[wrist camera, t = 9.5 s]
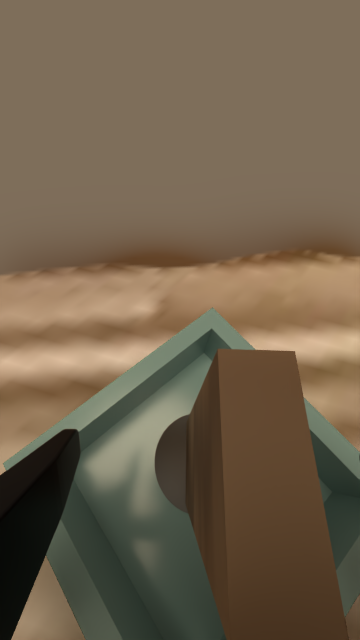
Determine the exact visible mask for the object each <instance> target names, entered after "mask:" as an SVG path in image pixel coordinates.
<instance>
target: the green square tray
mask: <svg viewBox="0 0 360 640" xmlns="http://www.w3.org/2000/svg"><path fill="white" fill-rule="evenodd" d="M217 349H242V350H255V349H254V348H253V347H252V346H251V345H250V344H249V343H248V342H247V341H246V340H245V339H244V338H243V337H242V336H241V335H240V334H239V333H238V332H237V331H236V330H235V329H234V328H233V327H232V326H231V325H230V324H229V323H228V322H227V321H226V320H225V319H224V318H223V317H222V316H221V315H220V314H219V313H218V312H217V311H216V310H215V309H214V308H211V309H210V310H208V311H207V312H206V313H204V314H203V315H202V316H200V317H199V318H198V319H196V320H195V321H194V322H192V323H191V324H190V325H188V326H187V327H186V328H184V329H183V330H182V331H180V332H179V333H178V334H176V335H175V336H174V337H172V338H171V339H170V340H168V341H167V342H165V343H164V344H163V345H161V346H160V347H159V348H157V349H156V350H155V351H153V352H152V353H151V354H149V355H148V356H147V357H145V358H144V359H143V360H141V361H140V362H139V363H137V364H136V365H135V366H133V367H132V368H131V369H129V370H128V371H127V372H125V373H124V374H123V375H121V376H120V377H118V378H117V379H116V380H114V381H113V382H112V383H110V384H109V385H108V386H106V387H105V388H104V389H102V390H101V391H100V392H98V393H97V394H96V395H94V396H93V397H92V398H90V399H89V400H88V401H86V402H85V403H84V404H82V405H81V406H80V407H78V408H77V409H75V410H74V411H73V412H71V413H70V414H69V415H67V416H66V417H65V418H63V419H62V420H61V421H59V422H58V423H57V424H55V425H54V426H53V427H51V428H50V429H49V430H47V431H46V432H45V433H43V434H42V435H41V436H39V437H38V438H37V439H35V440H34V441H33V442H31V443H30V444H28V445H27V446H26V447H24V448H23V449H22V450H20V451H19V452H18V453H16V454H15V455H14V456H12V457H11V458H10V459H8V460H7V461H6V462H4V463H3V465H4V467H5V469H6V471H7V470H8V469H9V468H11V467H12V466H14V465H15V464H16V463H18V462H19V461H20V460H22V459H23V458H25V457H26V456H27V455H29V454H30V453H31V452H33V451H34V450H36V449H37V448H38V447H40V446H41V445H42V444H44V443H45V442H47V441H48V440H49V439H51V438H52V437H53V436H55V435H56V434H58V433H59V432H60V431H62V430H63V429H77V430H78V431H79V438H80V448H81V454H80V459H79V462H78V466H77V469H76V472H75V476H74V479H73V482H72V485H71V489H70V492H69V495H68V499H67V502H66V505H65V508H64V511H63V514H62V517H61V519H60V522H59V524H58V527H57V529H56V532H55V534H54V536H53V539H52V541H51V544H50V546H49V549H48V551H47V553H46V556H47V558H48V560H49V563H50V565H51V567H52V569H53V571H54V573H55V575H56V577H57V580H58V582H59V584H60V586H61V588H62V590H63V592H64V594H65V597H66V599H67V601H68V603H69V605H70V607H71V609H72V611H73V614H74V616H75V618H76V620H77V622H78V624H79V626H80V628H81V631H82V633H83V635H84V637H85V639H86V640H227V639H226V636H225V633H224V629H223V626H222V623H221V619H220V616H219V613H218V609H217V606H216V603H215V600H214V596H213V593H212V590H211V586H210V583H209V580H208V576H207V573H206V570H205V566H204V563H203V560H202V557H201V553H200V550H199V547H198V543H197V540H196V537H195V533H194V530H193V527H192V523H191V520H190V517H189V514H188V513H186V512H183V511H181V510H180V509H178V508H176V507H175V506H174V505H173V504H172V503H171V502H170V501H169V500H168V499H167V498H166V497H165V495H164V494H163V492H162V490H161V488H160V486H159V484H158V481H157V478H156V473H155V452H156V448H157V445H158V442H159V439H160V437H161V436H162V434H163V432H164V431H165V430H166V428H167V427H168V426H169V425H170V424H171V423H172V422H174V421H175V420H177V419H178V418H180V417H182V416H185V415H188V414H190V412H191V410H192V408H193V405H194V403H195V401H196V398H197V396H198V394H199V391H200V389H201V387H202V384H203V382H204V380H205V377H206V375H207V373H208V370H209V368H210V366H211V363H212V361H213V359H214V356H215V354H216V352H217ZM303 398H304V397H303ZM304 403H305V408H306V414H307V419H308V424H309V430H310V435H311V440H312V445H313V451H314V456H315V461H316V467H317V472H318V477H319V483H320V488H321V493H322V499H323V504H324V509H325V515H326V520H327V525H328V531H329V536H330V541H331V547H332V552H333V557H334V563H335V568H336V573H337V579H338V584H339V589H340V595H341V600H342V605H343V611H344V616H345V617H346V615H347V613H348V612H349V610H350V608H351V607H352V605H353V604H354V602H355V600H356V599H357V597H358V596H359V594H360V460H359V455H360V452H359V451H358V450H357V449H356V448H355V447H354V446H353V445H352V444H351V443H350V442H349V441H348V440H347V439H346V438H345V437H344V436H343V435H342V434H340V433H339V432H338V431H337V430H336V429H335V428H334V427H333V426H332V425H331V424H330V423H329V422H328V421H327V420H326V419H325V418H324V417H323V416H322V415H321V414H320V413H319V412H318V411H317V410H316V409H315V408H314V407H313V406H312V405H311V404H310V403H309V402H308V401H307V400H306V399H305V398H304Z"/></svg>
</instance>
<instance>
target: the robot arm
mask: <svg viewBox="0 0 360 640" xmlns="http://www.w3.org/2000/svg"><path fill="white" fill-rule="evenodd" d="M80 454H81V448H80V438H79V431H78V430H77V429H63V430H62V431H60V432H59V433H58V434H56V435H55V436H53V437H52V438H51V439H49V440H48V441H47V442H45V443H44V444H42V445H41V446H40V447H38V448H37V449H36V450H34V451H33V452H31V453H30V454H29V455H27V456H26V457H25V458H23V459H22V460H20V461H19V462H18V463H16V464H15V465H14V466H12V467H11V468H9V469H8V470H7V471H5V472H4V473H3V474H1V475H0V640H11V638H12V636H13V634H14V631H15V629H16V626H17V624H18V621H19V619H20V617H21V614H22V612H23V609H24V607H25V604H26V602H27V600H28V597H29V595H30V592H31V590H32V587H33V585H34V583H35V580H36V578H37V575H38V573H39V570H40V568H41V566H42V563H43V561H44V558H45V556H46V553H47V551H48V549H49V546H50V544H51V541H52V539H53V536H54V534H55V532H56V529H57V527H58V524H59V522H60V519H61V517H62V514H63V511H64V508H65V505H66V502H67V499H68V495H69V492H70V489H71V485H72V482H73V479H74V476H75V472H76V469H77V466H78V462H79V459H80ZM359 460H360V455H359Z"/></svg>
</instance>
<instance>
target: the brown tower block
mask: <svg viewBox="0 0 360 640" xmlns="http://www.w3.org/2000/svg"><path fill="white" fill-rule="evenodd" d="M155 473H156V478H157V481H158V484H159V486H160V488H161V490H162V492H163V494H164V495H165V497H166V498H167V499H168V500H169V501H170V502H171V503H172V504H173V505H174V506H175V507H176V508H178V509H180V510H181V511H183V512H186V513H188V514H189V517H190V520H191V523H192V527H193V530H194V533H195V537H196V540H197V543H198V547H199V550H200V553H201V557H202V560H203V563H204V566H205V570H206V573H207V576H208V580H209V583H210V586H211V590H212V593H213V596H214V600H215V603H216V606H217V609H218V613H219V616H220V619H221V623H222V626H223V629H224V633H225V636H226V639H227V640H349V637H348V632H347V626H346V621H345V616H344V611H343V605H342V600H341V595H340V589H339V584H338V579H337V573H336V568H335V563H334V557H333V552H332V547H331V541H330V536H329V531H328V525H327V520H326V515H325V509H324V504H323V499H322V493H321V488H320V483H319V477H318V472H317V467H316V461H315V456H314V451H313V445H312V440H311V435H310V430H309V424H308V419H307V414H306V408H305V403H304V398H303V392H302V387H301V382H300V376H299V371H298V366H297V360H296V355H295V351H271V350H242V349H217V352H216V354H215V356H214V359H213V361H212V363H211V366H210V368H209V370H208V373H207V375H206V377H205V380H204V382H203V384H202V387H201V389H200V391H199V394H198V396H197V398H196V401H195V403H194V405H193V408H192V410H191V412H190V414H188V415H185V416H182V417H180V418H178V419H177V420H175V421H174V422H172V423H171V424H170V425H169V426H168V427H167V428H166V430H165V431H164V432H163V434H162V436H161V437H160V439H159V442H158V445H157V448H156V452H155Z"/></svg>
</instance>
